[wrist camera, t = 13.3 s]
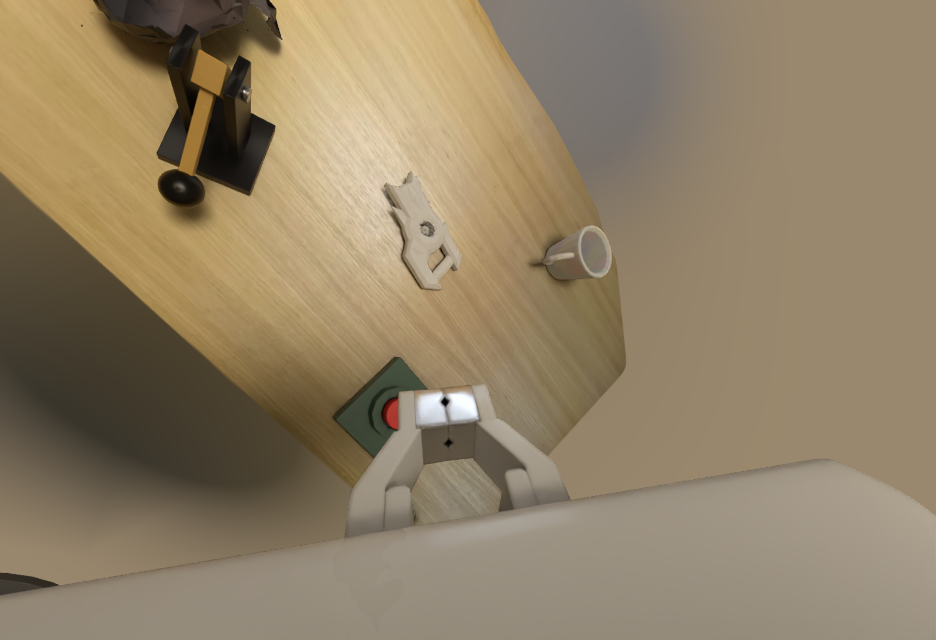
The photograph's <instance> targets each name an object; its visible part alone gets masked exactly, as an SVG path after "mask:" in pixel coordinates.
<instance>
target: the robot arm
mask: <svg viewBox="0 0 936 640" xmlns="http://www.w3.org/2000/svg"><path fill="white" fill-rule="evenodd" d="M414 397H415V398H414ZM468 458H474V460H475V461H476V462H477V464H478V465H479V466H480V467H481V468H482V469H483V470H484V472H485V473H486V474H487V475H488V476H489V477H490V479H491V480H492V481H493V482H494V483H495V484H496V486H497V487H498V488H499V489H500V490H501V491H502V494H501V500H500V506H499V512H496V513H490V514H484V515H479V516H473V517H467V518H461V519H455V520H449V521H443V522H437V523H431V524H425V525H419V526H414V522H413V512H412V503H411V494H410V493H411V491H412V489H413V487H414V485H415V483H416V481H417V479H418V477H419V475H420V473H421V471H422V469H423V467H424V465H425V464H431V463H437V462H443V461H449V460H458V459H468ZM0 640H936V515H934V514H933V513H931V512H930V511H929V510H927V509H926V508H925V507H923V506H922V505H921V504H919V503H918V502H917V501H915V500H914V499H912V498H911V497H909V496H908V495H906V494H905V493H903V492H901V491H899V490H897V489H895V488H893V487H891V486H889V485H887V484H885V483H883V482H881V481H879V480H877V479H875V478H872V477H870V476H868V475H866V474H864V473H862V472H860V471H858V470H855V469H853V468H851V467H849V466H846V465H844V464H841V463H839V462H836V461H834V460H830V459H813V460H807V461H801V462H795V463H789V464H783V465H777V466H771V467H765V468H760V469H753V470H747V471H741V472H735V473H730V474H723V475H717V476H711V477H706V478H699V479H694V480H688V481H682V482H676V483H670V484H664V485H658V486H652V487H646V488H640V489H634V490H628V491H622V492H616V493H610V494H604V495H598V496H592V497H586V498H580V499H574V500H570V497H569V495H568V492H567V490H566V488H565V485H564V483H563V481H562V478H561V476H560V474H559V471H558V469H557V467H556V465H555V462H554V461H552V460H551V459H550V458H549V457H547V456H546V455H545V454H544V453H543V452H541V451H540V450H539V449H538V448H536V447H535V446H534V445H533V444H531V443H530V442H529V441H528V440H527V439H525V438H524V437H523V436H522V435H520V434H519V433H518V432H517V431H516V430H514V429H513V428H512V427H511V426H509V425H508V424H507V423H506V422H504V421H503V420H502V419H497V417H496V414H495V411H494V408H493V405H492V402H491V398H490V395H489V392H488V389H487V386H486V384H485V383H482V384H473V385H464V386H455V387H446V388H438V389H425V390H414V391H403V392H399V394H398V431H396V432H393V433H392V435H391V436H390V438H389V439H388V440H387V442H386V443H385V445H384V446H383V447H382V449H381V450H380V451H379V453H378V454H377V456H376V457H375V458H374V460H373V461H372V462H371V464H370V465H369V467H368V468H367V469H366V471H365V472H364V473H363V475H362V476H361V478H360V479H359V480H358V482H357V483H356V485H355V486H354V487H353V489H352V490H351V491H350V500H349V507H348V515H347V523H346V530H345V538H342V539H335V540H329V541H324V542H317V543H312V544H305V545H300V546H294V547H288V548H282V549H276V550H270V551H264V552H258V553H252V554H246V555H240V556H234V557H228V558H222V559H216V560H210V561H204V562H198V563H192V564H186V565H180V566H174V567H168V568H162V569H156V570H150V571H144V572H138V573H132V574H126V575H120V576H114V577H108V578H102V579H96V580H90V581H84V582H78V583H72V584H66V585H60V586H54V587H48V588H42V589H36V590H30V591H24V592H18V593H12V594H6V595H0Z"/></svg>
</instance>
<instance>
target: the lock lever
mask: <svg viewBox="0 0 936 640" xmlns="http://www.w3.org/2000/svg"><path fill="white" fill-rule="evenodd" d="M231 72H232V70H231V69H230V68H229V67H228V65H226V64H225V63H223V62H221V61H219V60H218V59H216V58H214V57H212V56H211V55H209V54H207V53H205V52H204V51H202V50H200V49H199V50H198V54H197V57H196V61H195V65H194V69H193V73H192V77H191V82H192V83H194V84H195V85H197V86H198V87H199V88H200V89H199V93H198V97H197V101H196V104H195V108H194V112H193V116H192V120H191V123H190V127H189V131H188V135H187V139H186V142H185V146H184V150H183V154H182V158H181V161H180V165H179V169H174V170H168V171H166V172H164V173H163V174H162V175H161V176H160V177H159V179H158V189H159V192H160V194H161V195H162V196H163V198H164V199H165V200H167V201H168V202H169V203H171V204H173V205H175V206H177V207H181V208H193V207H196V206H198V205H200V204H201V203H202V202H203V200H204V198H205V189H204V186H203V184H202V183H201V181H200V180H199V179H198V178H197V177H196V176H195V173H196V169H197V166H198V162H199V158H200V155H201V151H202V147H203V144H204V140H205V136H206V133H207V129H208V125H209V122H210V118H211V114H212V111H213V107H214V103H215V100H216V96H217V97H219V98H221V99H223V94H222V92H223V90H224V88H225V86H226V83H227V81H228V79H229V76H230V74H231Z"/></svg>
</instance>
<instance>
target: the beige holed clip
mask: <svg viewBox="0 0 936 640" xmlns="http://www.w3.org/2000/svg"><path fill="white" fill-rule="evenodd" d="M384 187H385V189H386V191H387V192H388V194H389V196H390V197H391V199H392V201H393V202H394V204H395V206H396V207H397V208H395V207H393V206H390V207H391V208H392V210H393V212H394V214H395V216H396V218H397V220H398V221H399V223H400V225H401V227H402V233H403V236H404V239H405V242H406V243H405V247H404V251H403V255H402V257H403V259H404V261H405V262H406V264H407V265H408V267H409V269H410V270H411V272H412V273H413V275H414V277H415V278H416V280H417V281H418V283H419V285H420V286H421V288H423V289H432V290H442V288H441V286H440V284H439V283H438V281H439V280H440V279H441V278H442V276H443V275H444V274H445V273H446V272H447V271H448V270H449V268H450V267H451V266H452V268H453V270H454V271H456V270H458V268H459V265H460V262H461V259H462V256H461V254H460V252H459V250H458V249H457V247H456V245H455V243H454V241H453V240H452V238H451V236H450V234H449V231H448V228H447V225H446V221H445V223H444V224H443V222H442V220H441V219H440V218H439V217H438V216H437V214H436V213H435V212H434V211H433V209H432V207H431V206H430V202H429V201H428V199H427V197H426V195H425V194H424V192H423V190H422V188H421V182H420V180H419V178H418V177H417V176H414V175H413V174H412V172H410V173H408V176H407V180H406V183H405V184H403V185H401V186H399V187H396V186H394V185H391V184H388V183H386V184H385V185H384ZM420 225H423V226H422V227H421V226H420ZM419 228H420V229H419ZM426 235H428V236H426ZM440 247H441V249H442V251H443V252H444V254H445V256H446V257H445V258H444V259H443V260H442V262H441V263H440V264H439V265H438V266H437V267H436V268H435V270H434V271H433V272H432V271H431V269H430V268H429V266H428V261H429V256H430V254H432V253H433V252H435V251H437V250H438V249H439V248H440Z"/></svg>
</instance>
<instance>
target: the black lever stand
mask: <svg viewBox="0 0 936 640" xmlns="http://www.w3.org/2000/svg"><path fill="white" fill-rule="evenodd" d="M199 49H200V50H202V48H201V42H200V36H199V31H197V30H196V29H194V28H192V27H191V26H189V25H187V24H185V25H184V27H183V29H182V31H181V33H180V35H179V37H178V39H177V41H176V43H175V45H174V46H172V47H171V49H170V51H169V57H168V59H167V61H166V66H167V70H168V73H169V76H170V80H171V83H172V87H173V90H174V94H175V97H176V100H177V104H178V109H177V111H176V113H175V115H174V117H173V119H172V122H171V124H170V126H169V128H168V130H167V132H166V134H165V136H164V138H163V141H162V143H161V145H160V147H159V149H158V151H157V155H158V157H159V159H162V160H164V161H166V162H169V163H171V164H174V165H176V166H179V165H180V161H181V158H182V154H183V150H184V146H185V142H186V139H187V135H188V131H189V127H190V123H191V120H192V116H193V112H194V108H195V104H196V101H197V97H198V93H199V89H200V88H199V87H198V86H197V85H195V84H194V83H192V82H191V77H192V73H193V69H194V65H195V61H196V57H197V54H198V50H199ZM251 93H252V90H251V62H250V61H248V60H246V59H245V58H243V57H241V56H238V58H237V61H236V63H235V65H234V67H233V70H232V72H231V74H230V76H229V79H228V81H227V83H226V86H225V88H224V90H223V92H222V94H223V99H221V98H219V97H217V96H216V100H215V103H214V107H213V111H212V114H211V118H210V122H209V125H208V129H207V133H206V136H205V140H204V144H203V147H202V151H201V155H200V158H199V162H198V166H197V169H196V174H198V175H201V176H203V177H205V178H208V179H210V180H213V181H215V182H218V183H220V184H222V185H225V186H227V187H230V188H232V189H235V190H237V191H239V192H242V193H244V194H247V195H249V196H250V194H251V192H252V189H253V186H254V184H255V181H256V179H257V176H258V173H259V171H260V168H261V166H262V163H263V161H264V158H265V155H266V153H267V150H268V148H269V145H270V142H271V140H272V137H273V135H274V132H275V125H273V124H271V123H269V122H267V121H266V120H264V119H262V118H260V117H258V116H256V115H254V114H252V113H251Z"/></svg>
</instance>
